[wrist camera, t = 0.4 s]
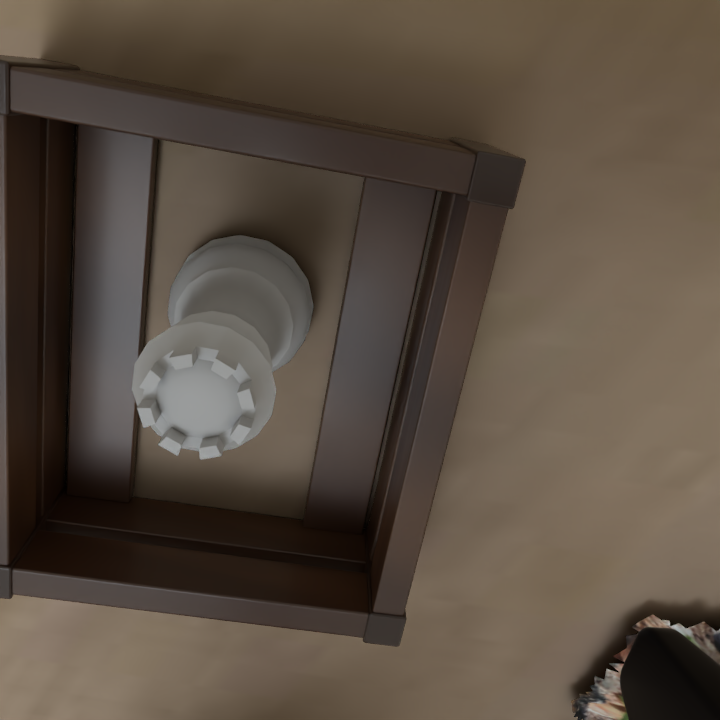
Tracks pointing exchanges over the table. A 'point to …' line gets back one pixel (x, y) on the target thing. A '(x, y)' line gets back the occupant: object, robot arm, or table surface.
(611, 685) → the plant with pod
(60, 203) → the crate
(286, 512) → the table surface
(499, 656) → the table surface
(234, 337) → the rook chess piece
